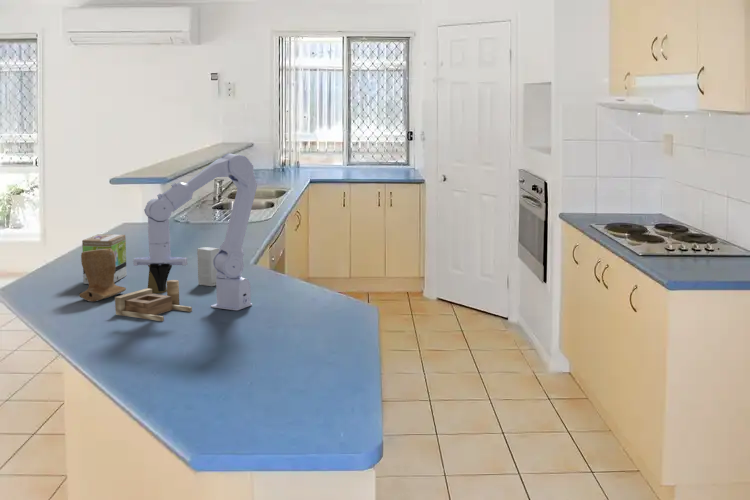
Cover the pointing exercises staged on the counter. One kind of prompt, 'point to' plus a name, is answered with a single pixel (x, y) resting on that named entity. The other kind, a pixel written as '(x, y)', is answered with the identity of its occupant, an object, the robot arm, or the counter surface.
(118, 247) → the tea box
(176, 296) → the oak dowel
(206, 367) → the counter surface
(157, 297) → the walnut block
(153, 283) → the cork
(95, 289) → the brown wooden stand
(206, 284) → the skincare box
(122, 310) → the birch rail and backstop
